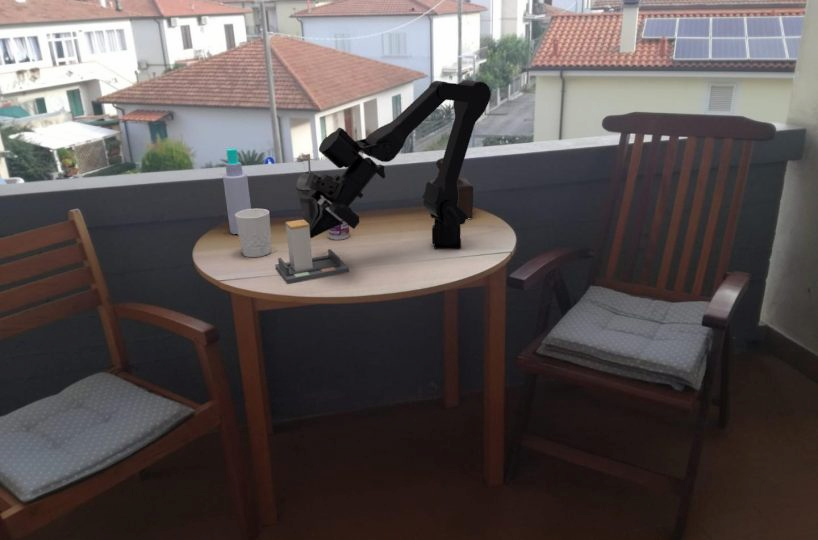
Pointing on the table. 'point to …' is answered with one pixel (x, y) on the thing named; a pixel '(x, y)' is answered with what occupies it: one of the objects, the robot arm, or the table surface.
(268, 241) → the white cup
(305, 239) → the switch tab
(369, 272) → the table surface
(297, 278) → the switch board
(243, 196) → the spray bottle
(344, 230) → the pill bottle
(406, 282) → the table surface
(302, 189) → the beverage cup
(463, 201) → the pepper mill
